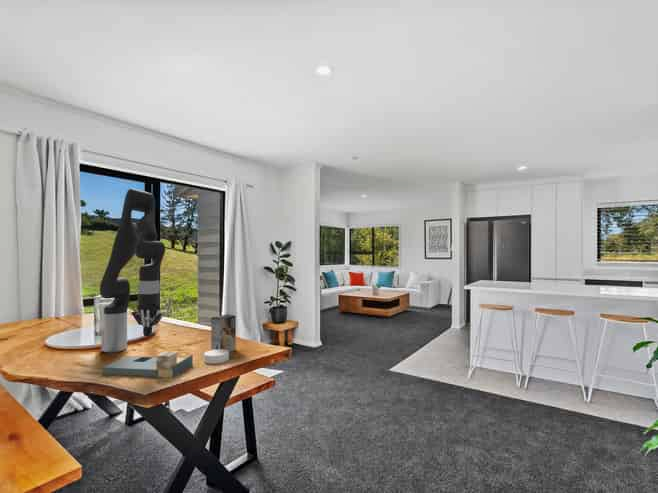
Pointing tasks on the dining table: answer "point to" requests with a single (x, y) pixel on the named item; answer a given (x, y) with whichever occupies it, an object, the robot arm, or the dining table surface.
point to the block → (166, 360)
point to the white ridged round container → (216, 356)
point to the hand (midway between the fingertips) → (147, 335)
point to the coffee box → (223, 332)
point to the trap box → (145, 366)
